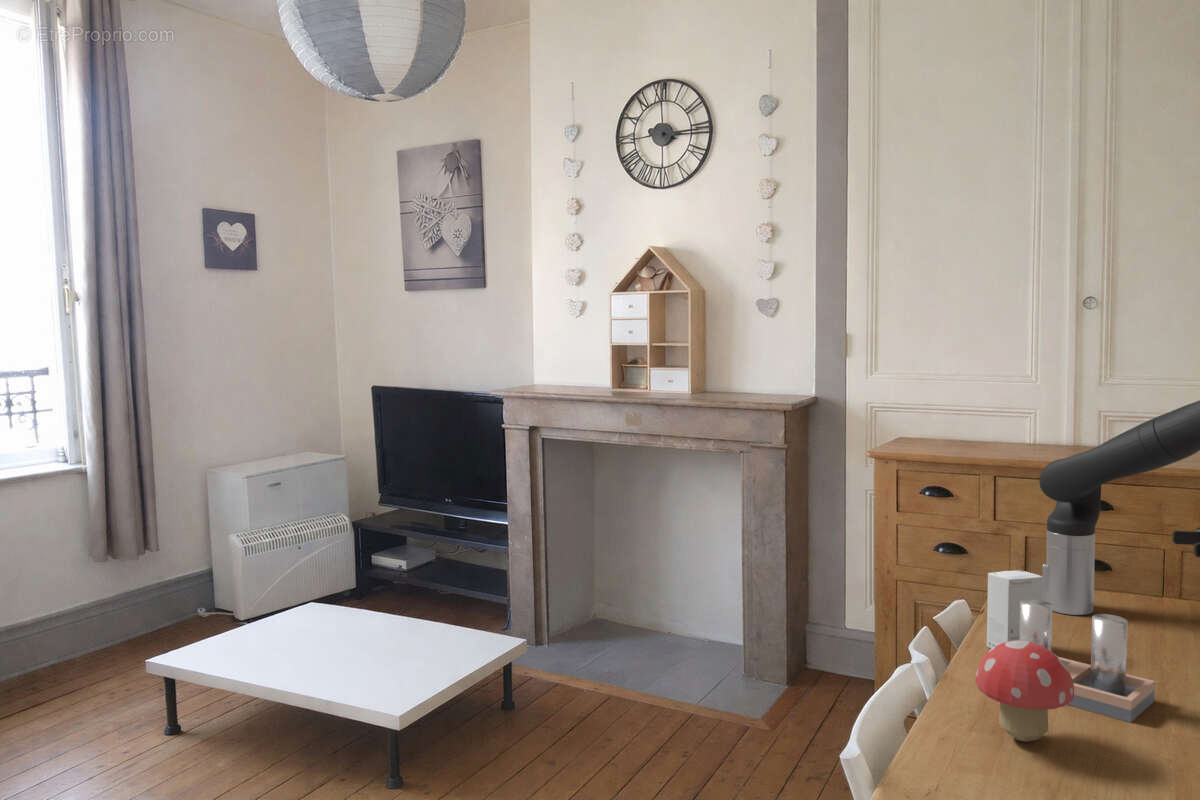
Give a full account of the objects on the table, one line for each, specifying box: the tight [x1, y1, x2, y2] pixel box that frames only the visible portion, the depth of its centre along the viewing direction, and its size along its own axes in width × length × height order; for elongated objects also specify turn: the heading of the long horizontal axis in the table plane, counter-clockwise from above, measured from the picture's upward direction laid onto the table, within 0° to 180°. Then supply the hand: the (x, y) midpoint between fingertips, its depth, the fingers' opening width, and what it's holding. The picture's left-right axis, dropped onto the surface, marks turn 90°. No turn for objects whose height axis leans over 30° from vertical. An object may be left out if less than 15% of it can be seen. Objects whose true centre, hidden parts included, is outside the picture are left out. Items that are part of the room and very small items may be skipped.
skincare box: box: [986, 569, 1043, 650], centre depth 167 cm, size 8×6×15 cm
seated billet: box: [1020, 599, 1053, 652], centre depth 152 cm, size 5×5×12 cm
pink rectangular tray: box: [1057, 656, 1156, 724], centre depth 148 cm, size 22×11×4 cm, turn 41°
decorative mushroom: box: [974, 640, 1074, 743], centre depth 131 cm, size 13×13×15 cm
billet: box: [1090, 613, 1128, 696], centre depth 143 cm, size 5×5×12 cm
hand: (1183, 543), depth 146 cm, fingers open, 8 cm apart
